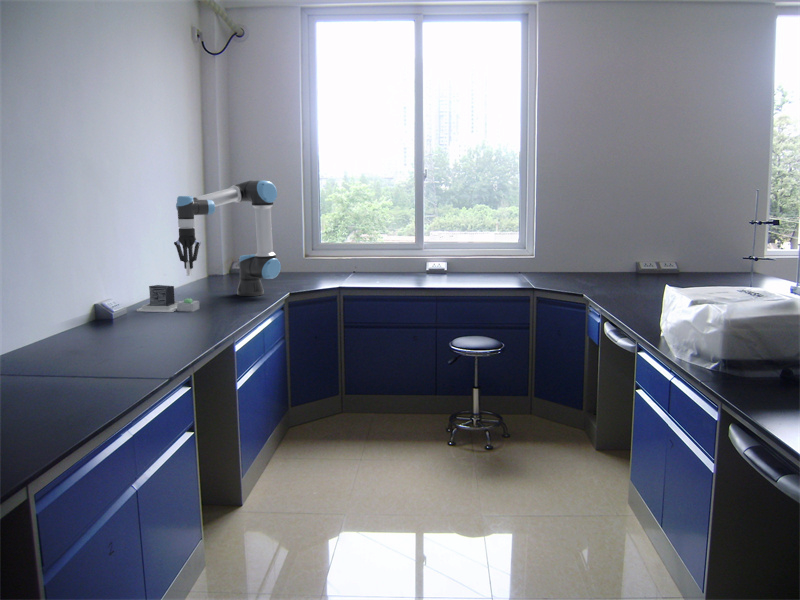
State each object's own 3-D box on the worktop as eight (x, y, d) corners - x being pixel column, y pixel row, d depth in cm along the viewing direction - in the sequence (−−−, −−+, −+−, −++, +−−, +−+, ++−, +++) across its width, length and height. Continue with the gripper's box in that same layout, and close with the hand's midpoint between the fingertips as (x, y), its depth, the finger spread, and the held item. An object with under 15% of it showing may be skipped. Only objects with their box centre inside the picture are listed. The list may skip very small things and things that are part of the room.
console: (199, 308, 314) (199, 300, 313) (193, 311, 306) (193, 303, 305) (183, 308, 314) (183, 300, 314) (177, 311, 306) (177, 303, 306)
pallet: (187, 305, 321) (187, 301, 321) (172, 312, 303) (172, 307, 303) (153, 304, 322) (152, 300, 322) (136, 311, 304) (136, 306, 304)
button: (193, 306, 312) (193, 298, 311) (190, 307, 308) (190, 299, 307) (186, 306, 312) (185, 298, 311) (183, 307, 308) (183, 299, 308)
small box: (175, 306, 314) (174, 285, 312) (167, 308, 308) (166, 287, 306) (158, 304, 317) (157, 284, 316) (149, 306, 311) (148, 286, 310)
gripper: (202, 227, 310) (204, 274, 314) (176, 227, 310) (179, 274, 314) (196, 228, 302) (199, 276, 307) (170, 228, 303) (173, 276, 307)
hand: (189, 275), depth 310 cm, fingers closed
